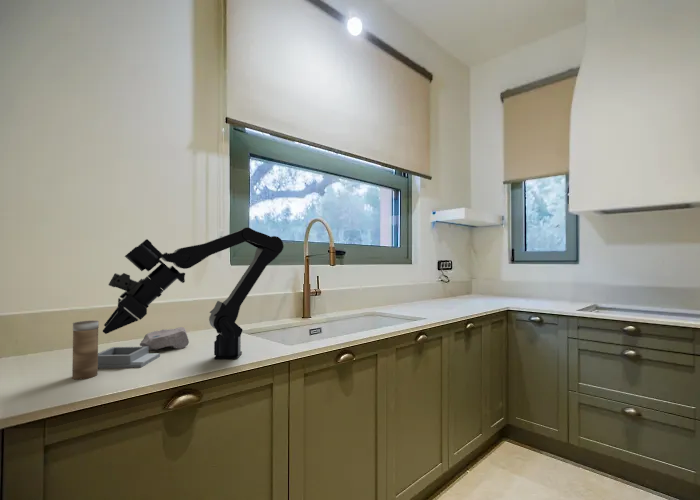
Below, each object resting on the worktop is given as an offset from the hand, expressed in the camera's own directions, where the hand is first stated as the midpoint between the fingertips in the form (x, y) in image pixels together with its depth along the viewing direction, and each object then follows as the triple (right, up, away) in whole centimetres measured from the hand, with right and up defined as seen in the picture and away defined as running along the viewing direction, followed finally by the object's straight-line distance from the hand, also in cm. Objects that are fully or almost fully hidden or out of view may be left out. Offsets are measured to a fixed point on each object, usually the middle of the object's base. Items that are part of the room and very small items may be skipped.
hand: (104, 329), depth 92 cm
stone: (+2, -12, +25) cm, 28 cm away
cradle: (-2, -11, +10) cm, 15 cm away
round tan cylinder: (-3, -11, -2) cm, 12 cm away
